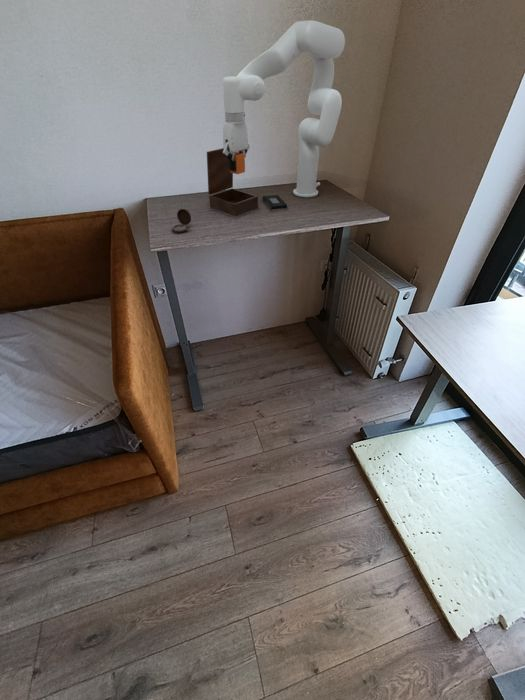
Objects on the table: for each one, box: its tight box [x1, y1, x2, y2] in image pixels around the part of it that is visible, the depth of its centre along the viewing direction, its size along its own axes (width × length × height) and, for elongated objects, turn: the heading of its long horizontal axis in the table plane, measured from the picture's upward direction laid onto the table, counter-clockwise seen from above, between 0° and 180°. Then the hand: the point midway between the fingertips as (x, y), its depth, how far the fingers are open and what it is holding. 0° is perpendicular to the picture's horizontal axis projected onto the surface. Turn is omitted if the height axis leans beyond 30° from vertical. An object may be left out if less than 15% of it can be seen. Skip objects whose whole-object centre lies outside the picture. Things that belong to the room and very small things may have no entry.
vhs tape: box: [262, 194, 288, 210], centre depth 156 cm, size 8×14×2 cm, turn 15°
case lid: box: [206, 147, 234, 196], centre depth 147 cm, size 17×14×5 cm
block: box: [230, 152, 246, 175], centre depth 140 cm, size 4×4×7 cm
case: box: [208, 187, 259, 217], centre depth 150 cm, size 16×14×6 cm
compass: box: [171, 208, 192, 234], centre depth 132 cm, size 8×8×7 cm
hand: (237, 168), depth 142 cm, fingers closed on block, 4 cm apart
